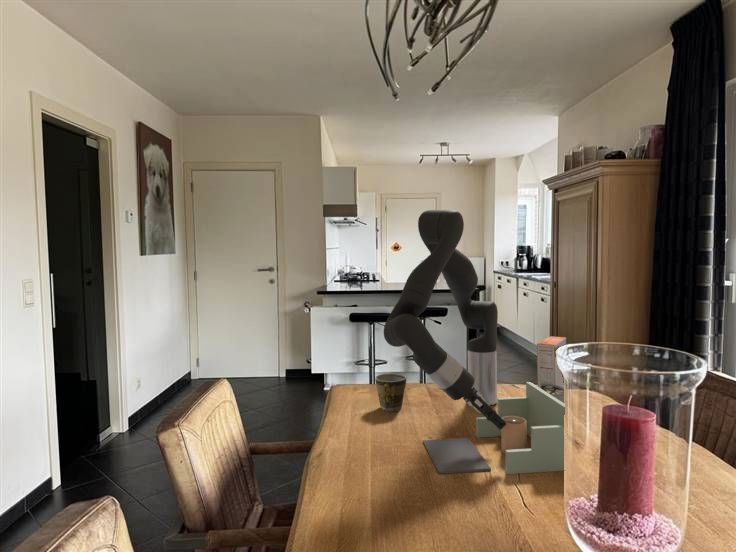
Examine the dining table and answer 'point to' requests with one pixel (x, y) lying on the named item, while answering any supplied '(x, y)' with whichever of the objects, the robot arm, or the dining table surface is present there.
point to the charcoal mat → (455, 456)
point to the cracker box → (549, 361)
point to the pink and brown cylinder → (514, 433)
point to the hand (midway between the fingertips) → (496, 420)
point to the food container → (554, 391)
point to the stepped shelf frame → (532, 431)
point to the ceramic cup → (390, 391)
